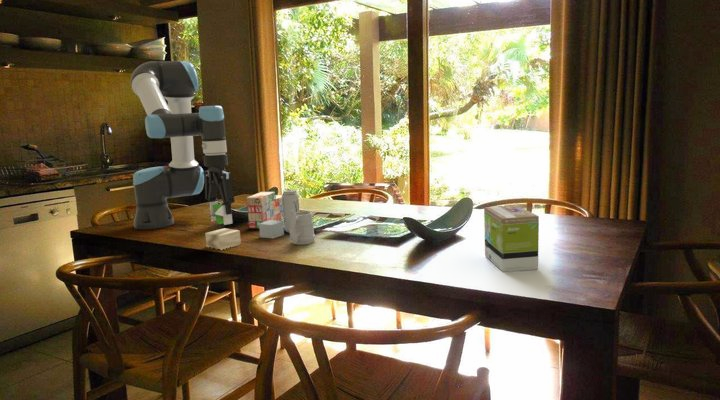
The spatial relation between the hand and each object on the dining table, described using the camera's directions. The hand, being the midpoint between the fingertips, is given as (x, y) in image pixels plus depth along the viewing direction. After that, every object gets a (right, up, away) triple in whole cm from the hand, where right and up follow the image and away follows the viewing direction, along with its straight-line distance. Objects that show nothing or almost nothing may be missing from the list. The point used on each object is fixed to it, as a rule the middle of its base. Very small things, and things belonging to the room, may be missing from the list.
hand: (221, 222), depth 172 cm
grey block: (+15, -5, +12) cm, 20 cm away
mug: (+26, -7, 0) cm, 27 cm away
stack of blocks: (+10, -2, +35) cm, 36 cm away
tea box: (+87, -10, -31) cm, 93 cm away
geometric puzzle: (0, 0, 0) cm, 1 cm away
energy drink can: (+21, -4, +18) cm, 28 cm away
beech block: (0, -8, +2) cm, 8 cm away
